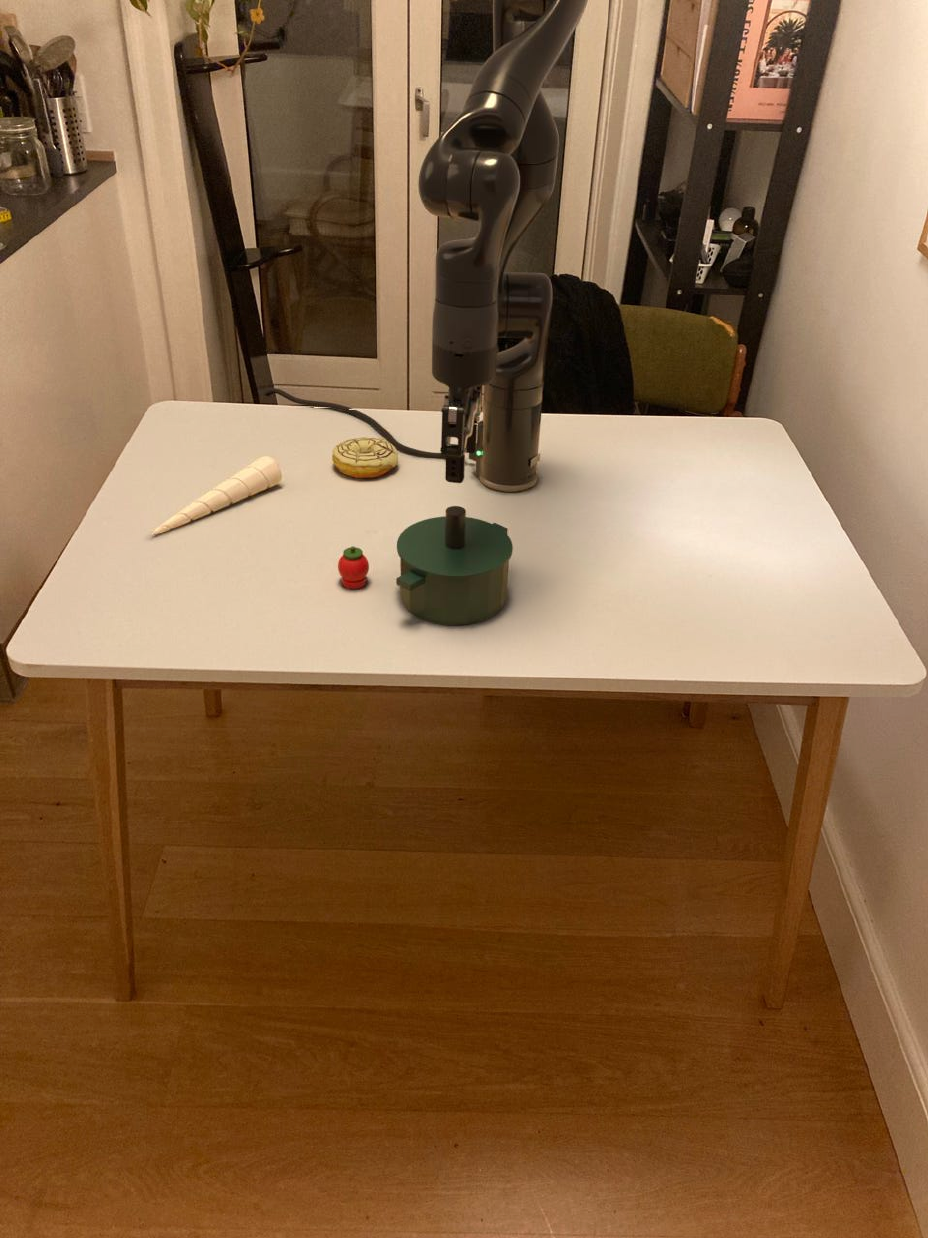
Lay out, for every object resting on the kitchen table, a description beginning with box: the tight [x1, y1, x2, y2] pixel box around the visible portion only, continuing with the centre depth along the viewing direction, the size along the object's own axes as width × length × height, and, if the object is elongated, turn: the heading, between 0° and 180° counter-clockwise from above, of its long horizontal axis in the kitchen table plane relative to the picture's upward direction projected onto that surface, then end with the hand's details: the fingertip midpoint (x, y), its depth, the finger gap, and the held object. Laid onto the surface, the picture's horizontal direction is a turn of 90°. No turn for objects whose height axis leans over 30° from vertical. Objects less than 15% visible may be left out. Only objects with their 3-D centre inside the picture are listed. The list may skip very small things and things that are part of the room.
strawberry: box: [337, 546, 370, 590], centre depth 133 cm, size 4×4×6 cm
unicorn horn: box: [150, 455, 283, 536], centre depth 150 cm, size 5×24×5 cm, turn 137°
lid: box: [396, 505, 514, 579], centre depth 128 cm, size 15×15×6 cm
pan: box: [396, 522, 510, 626], centre depth 131 cm, size 14×20×8 cm
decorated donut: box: [331, 436, 399, 479], centre depth 163 cm, size 10×11×4 cm
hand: (461, 466), depth 122 cm, fingers open, 8 cm apart
